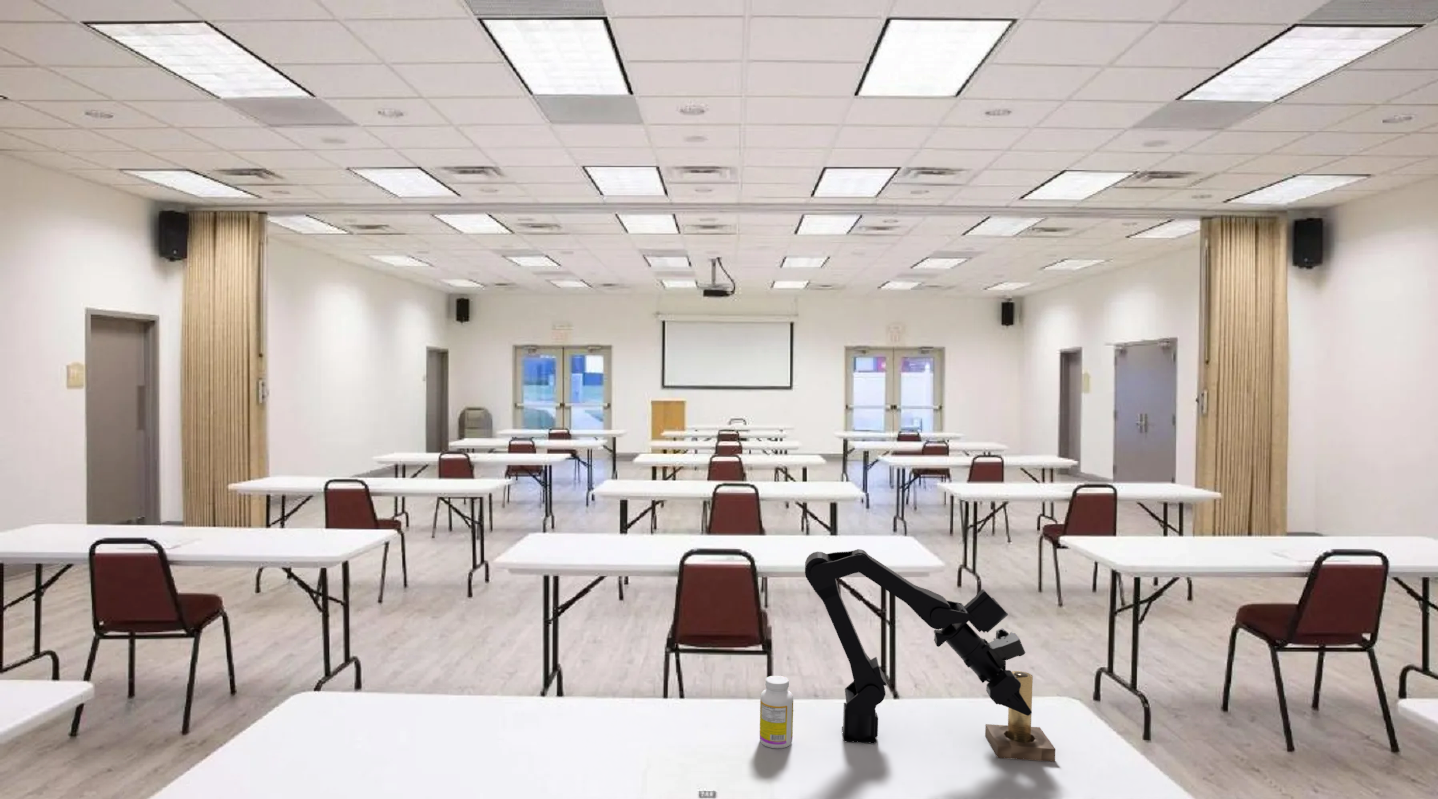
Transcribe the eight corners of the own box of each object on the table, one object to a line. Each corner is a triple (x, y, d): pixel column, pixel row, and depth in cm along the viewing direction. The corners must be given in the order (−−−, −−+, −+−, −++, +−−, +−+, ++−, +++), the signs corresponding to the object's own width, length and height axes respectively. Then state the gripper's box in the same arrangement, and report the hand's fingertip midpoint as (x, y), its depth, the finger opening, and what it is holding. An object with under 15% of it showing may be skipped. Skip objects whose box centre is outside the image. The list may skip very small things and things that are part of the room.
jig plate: (997, 758, 163) (997, 745, 163) (985, 735, 173) (985, 724, 173) (1054, 761, 162) (1055, 748, 162) (1039, 739, 172) (1039, 727, 172)
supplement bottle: (774, 732, 172) (776, 671, 171) (799, 743, 167) (800, 680, 167) (752, 741, 167) (754, 678, 167) (777, 753, 162) (778, 688, 162)
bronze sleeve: (1015, 754, 165) (1018, 679, 164) (1002, 744, 169) (1005, 671, 168) (1034, 752, 166) (1037, 677, 165) (1021, 742, 170) (1023, 669, 169)
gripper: (1011, 635, 158) (1068, 696, 157) (990, 608, 176) (1041, 662, 175) (967, 673, 159) (1024, 734, 158) (951, 642, 177) (1002, 696, 176)
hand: (1024, 704), depth 167 cm, fingers open, 9 cm apart
